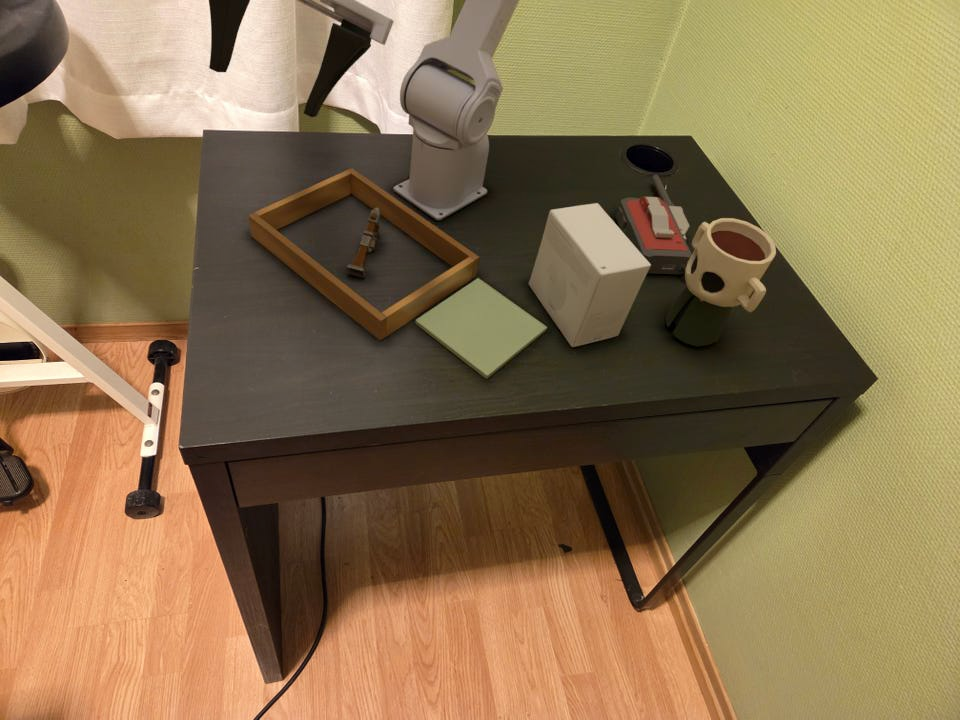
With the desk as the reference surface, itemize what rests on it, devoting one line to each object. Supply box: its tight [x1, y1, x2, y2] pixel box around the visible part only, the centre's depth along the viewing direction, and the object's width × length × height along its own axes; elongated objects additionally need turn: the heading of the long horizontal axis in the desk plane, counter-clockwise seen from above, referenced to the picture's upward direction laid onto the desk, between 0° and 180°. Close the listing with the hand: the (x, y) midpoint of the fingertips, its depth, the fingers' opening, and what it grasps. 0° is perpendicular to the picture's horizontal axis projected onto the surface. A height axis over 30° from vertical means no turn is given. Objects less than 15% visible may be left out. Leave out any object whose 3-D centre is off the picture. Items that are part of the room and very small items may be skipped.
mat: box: [414, 277, 548, 380], centre depth 70 cm, size 10×10×1 cm
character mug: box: [665, 217, 777, 347], centre depth 70 cm, size 11×7×13 cm, turn 21°
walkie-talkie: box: [615, 174, 693, 276], centre depth 85 cm, size 9×4×20 cm
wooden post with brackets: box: [346, 208, 382, 279], centre depth 74 cm, size 2×8×4 cm, turn 168°
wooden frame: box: [248, 167, 480, 341], centre depth 74 cm, size 15×21×3 cm
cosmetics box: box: [527, 202, 651, 348], centre depth 70 cm, size 10×6×10 cm, turn 25°
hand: (264, 93), depth 53 cm, fingers open, 7 cm apart
